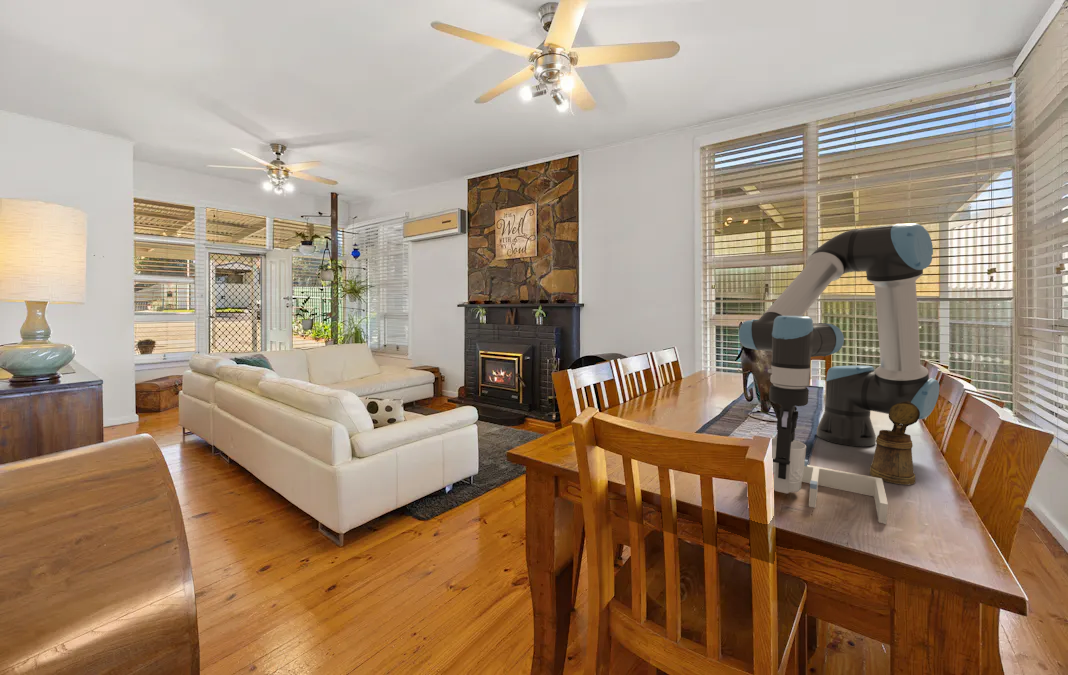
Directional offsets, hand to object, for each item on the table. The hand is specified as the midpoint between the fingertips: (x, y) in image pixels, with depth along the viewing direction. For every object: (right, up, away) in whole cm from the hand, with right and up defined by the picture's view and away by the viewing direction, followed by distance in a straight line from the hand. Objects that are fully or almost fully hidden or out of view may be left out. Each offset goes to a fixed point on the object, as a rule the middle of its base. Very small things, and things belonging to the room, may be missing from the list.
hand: (783, 485), depth 101 cm
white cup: (0, 0, 0) cm, 1 cm away
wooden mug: (+33, -1, +10) cm, 35 cm away
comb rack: (+6, -2, -1) cm, 7 cm away
